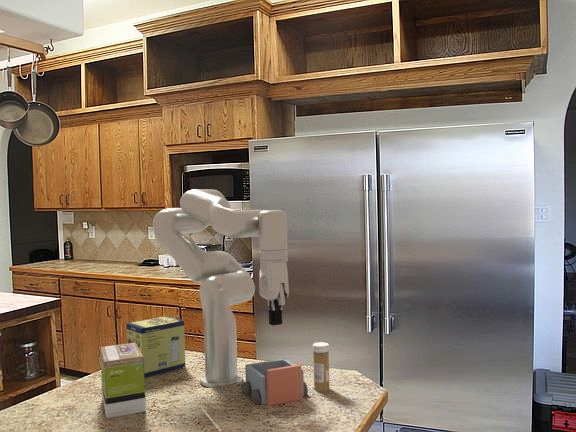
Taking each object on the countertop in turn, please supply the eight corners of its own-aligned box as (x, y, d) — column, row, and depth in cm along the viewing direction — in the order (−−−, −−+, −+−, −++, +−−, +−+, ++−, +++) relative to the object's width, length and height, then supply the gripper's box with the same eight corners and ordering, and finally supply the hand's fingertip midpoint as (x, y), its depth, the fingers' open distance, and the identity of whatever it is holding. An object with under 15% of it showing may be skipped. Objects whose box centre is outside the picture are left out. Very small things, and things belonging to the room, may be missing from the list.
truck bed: (241, 394, 146) (240, 365, 146) (289, 385, 153) (289, 357, 152) (257, 409, 136) (256, 378, 135) (308, 398, 142) (308, 369, 142)
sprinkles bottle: (333, 392, 146) (332, 344, 146) (320, 396, 144) (319, 346, 143) (323, 387, 150) (322, 340, 150) (310, 391, 147) (309, 343, 147)
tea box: (101, 399, 145) (99, 345, 145) (138, 393, 149) (137, 341, 149) (105, 419, 131) (103, 360, 131) (146, 412, 135) (145, 354, 135)
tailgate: (267, 404, 136) (266, 369, 136) (300, 398, 140) (299, 364, 140) (269, 405, 135) (268, 371, 135) (302, 399, 139) (301, 365, 139)
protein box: (126, 371, 169) (125, 323, 169) (169, 360, 180) (168, 315, 179) (142, 379, 161) (140, 328, 161) (186, 367, 172) (185, 319, 171)
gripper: (250, 255, 147) (252, 320, 147) (271, 259, 133) (273, 331, 134) (275, 253, 150) (277, 317, 150) (298, 257, 137) (300, 328, 137)
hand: (275, 324), depth 142 cm, fingers closed
